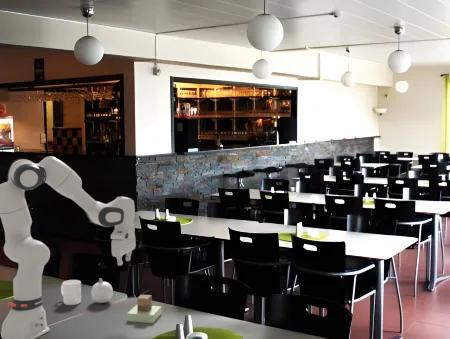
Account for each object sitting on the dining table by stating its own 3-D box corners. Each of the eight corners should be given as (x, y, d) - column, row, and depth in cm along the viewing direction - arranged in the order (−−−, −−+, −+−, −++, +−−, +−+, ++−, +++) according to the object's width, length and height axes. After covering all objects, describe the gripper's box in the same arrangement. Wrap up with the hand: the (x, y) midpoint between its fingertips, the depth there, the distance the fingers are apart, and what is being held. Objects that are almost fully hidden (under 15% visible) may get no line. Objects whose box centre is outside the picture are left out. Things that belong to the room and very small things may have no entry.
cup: (71, 306, 264) (71, 285, 263) (54, 301, 271) (54, 281, 270) (84, 301, 271) (84, 281, 270) (68, 297, 277) (67, 277, 277)
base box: (153, 324, 242) (153, 315, 242) (127, 322, 244) (127, 313, 244) (161, 315, 254) (161, 306, 254) (136, 313, 256) (136, 304, 256)
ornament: (91, 306, 263) (91, 282, 262) (91, 300, 273) (90, 276, 272) (113, 305, 266) (113, 280, 265) (112, 298, 276) (111, 274, 275)
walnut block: (148, 311, 246) (148, 298, 246) (137, 311, 247) (137, 298, 247) (151, 308, 251) (151, 295, 251) (141, 307, 252) (140, 294, 251)
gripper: (126, 228, 261) (125, 257, 261) (109, 235, 241) (108, 267, 241) (139, 229, 259) (138, 258, 260) (122, 236, 239) (122, 268, 240)
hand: (124, 262), depth 251 cm, fingers open, 8 cm apart
